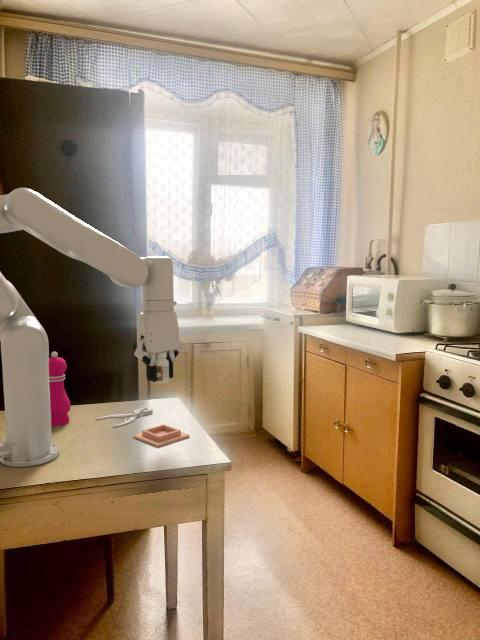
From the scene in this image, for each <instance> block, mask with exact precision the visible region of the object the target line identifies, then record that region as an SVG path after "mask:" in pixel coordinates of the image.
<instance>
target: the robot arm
mask: <svg viewBox="0 0 480 640" xmlns="http://www.w3.org/2000/svg"><path fill="white" fill-rule="evenodd" d="M22 230H24V231H25V232H27V233H28V234H30V235H32V236H33V237H35V238H36V239H38V240H40V241H41V242H43V243H45V244H47V245H48V246H49V247H52V248H53V249H55V250H57V251H58V252H59V253H62V254H63V255H65V256H67V257H69V258H72V259H74V260H77V261H80V262H82V263H85V264H87V265H89V266H91V267H92V268H94V269H96V270H98V271H99V272H101V273H103V274H105V275H106V276H108V278H109V279H110V280H111V281H112V282H113V283H114V284H115V285H117V286H119V287H123V288H129V289H137V288H140V287H141V286H142V312H140V314H139V317H138V323H137V325H138V326H137V335H136V336H137V339H136V341H137V343H136V349H135V350H134V353H133V355H134V356H135V357H136V358H137V359H140V360H141V362H142V363H143V364H144V365H145V370H146V371H145V372H146V374H145V375H146V379H147V381H149V382H151V383H152V382H156V381H157V371H156V366H155V365H154V363H155V357H156V353H162V352H167V357H166V359H167V360H168V361H169V379H173V378H174V363H175V362H176V358H177V356H178V355H179V353H180V352H181V351H182V350H183V349H184V346H183V344H182V343H181V341H180V331H179V330H180V329H179V322H178V316H177V312H176V311H175V307H176V306H177V301H176V300H175V299H174V298H175V296H174V261H173V260H172V258H171V257H169V256H167V255H166V256H164V255H163V256H162V255H160V256H159V255H158V256H157V255H152V256H146V257H141V256H140V255H138V254H136V253H135V252H133V251H132V250H130V249H128V248H127V247H125V246H124V245H122V244H120V242H118V241H116V240H114V239H112V238H111V237H109V236H107V235H106V234H104V233H103V232H101V231H99V230H97V229H95V228H94V227H92V226H91V225H89V224H87V223H85V222H84V221H82V220H81V219H79V218H77V217H75V215H73V214H71V213H69V211H67V210H65V209H63V208H62V207H60V205H57V204H55V203H54V202H53V201H51V200H49V199H48V198H46V197H44V196H43V195H42V194H40V193H39V192H37V191H34V190H33V189H31V188H27V187H18V188H15V189H13V190H12V191H11V192H9V193H8V194H7V193H6V194H2V195H0V234H5V233H12V232H17V231H22ZM49 343H50V342H49V338H48V334H47V332H46V330H45V328H44V327H43V326H42V324H41V323H40V321H39V320H38V319H37V317H36V316H35V314H34V313H33V312H32V310H31V309H30V308H29V306H28V305H27V303H26V302H25V300H24V299H23V298H22V295H21V294H20V293H19V292H18V290H17V289H16V287H15V286H14V285H13V283H11V282H10V281H9V280H7V278H5V276H4V275H3V274H2V272H1V271H0V353H1V354H0V355H1V364H2V383H3V384H2V385H3V396H4V399H3V400H4V414H5V417H4V418H5V433H6V434H5V435H6V438H5V439H2V441H1V444H0V462H1V464H3V465H5V466H7V467H15V468H24V467H25V468H26V467H34V466H39V465H42V464H46V463H48V462H50V461H52V460H53V461H54V459H56V458H58V456H59V455H60V447H59V446H58V445H57V444H56V443H53V436H52V426H51V410H50V388H49V358H50V350H49V349H50V347H49V345H50V344H49Z"/></svg>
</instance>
